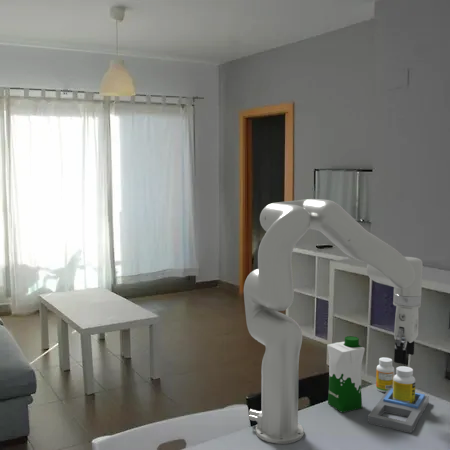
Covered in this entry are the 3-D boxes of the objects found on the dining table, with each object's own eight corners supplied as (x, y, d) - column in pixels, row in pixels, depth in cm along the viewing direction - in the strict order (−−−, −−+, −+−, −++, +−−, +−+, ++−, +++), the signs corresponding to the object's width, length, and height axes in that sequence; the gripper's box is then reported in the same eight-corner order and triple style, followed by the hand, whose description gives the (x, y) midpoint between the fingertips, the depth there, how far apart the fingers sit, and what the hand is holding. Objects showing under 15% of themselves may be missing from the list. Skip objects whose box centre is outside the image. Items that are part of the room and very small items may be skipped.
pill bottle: (416, 410, 159) (417, 373, 158) (393, 409, 160) (394, 372, 159) (413, 401, 165) (414, 365, 164) (391, 400, 166) (392, 364, 165)
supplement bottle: (379, 384, 178) (380, 355, 177) (396, 388, 175) (397, 358, 174) (373, 390, 174) (374, 360, 173) (390, 394, 171) (391, 363, 170)
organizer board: (367, 422, 152) (367, 413, 151) (388, 394, 170) (389, 386, 170) (411, 433, 146) (411, 423, 146) (428, 402, 165) (428, 394, 164)
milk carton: (366, 408, 161) (368, 341, 159) (340, 414, 157) (342, 345, 155) (347, 397, 169) (349, 333, 166) (322, 402, 165) (323, 337, 163)
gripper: (413, 308, 150) (410, 369, 152) (426, 296, 165) (423, 352, 167) (385, 304, 154) (383, 364, 156) (401, 293, 169) (398, 348, 171)
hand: (404, 358), depth 161 cm, fingers open, 9 cm apart
